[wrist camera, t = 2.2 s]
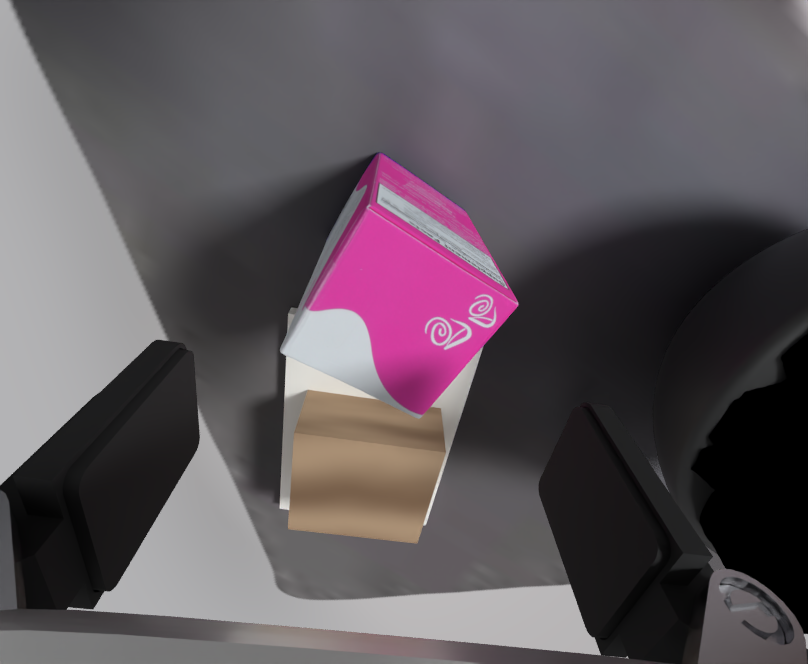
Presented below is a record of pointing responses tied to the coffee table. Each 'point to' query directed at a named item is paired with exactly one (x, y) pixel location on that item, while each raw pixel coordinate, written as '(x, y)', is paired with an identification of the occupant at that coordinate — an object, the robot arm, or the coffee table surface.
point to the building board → (309, 378)
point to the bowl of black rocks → (744, 420)
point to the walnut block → (363, 467)
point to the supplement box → (399, 292)
